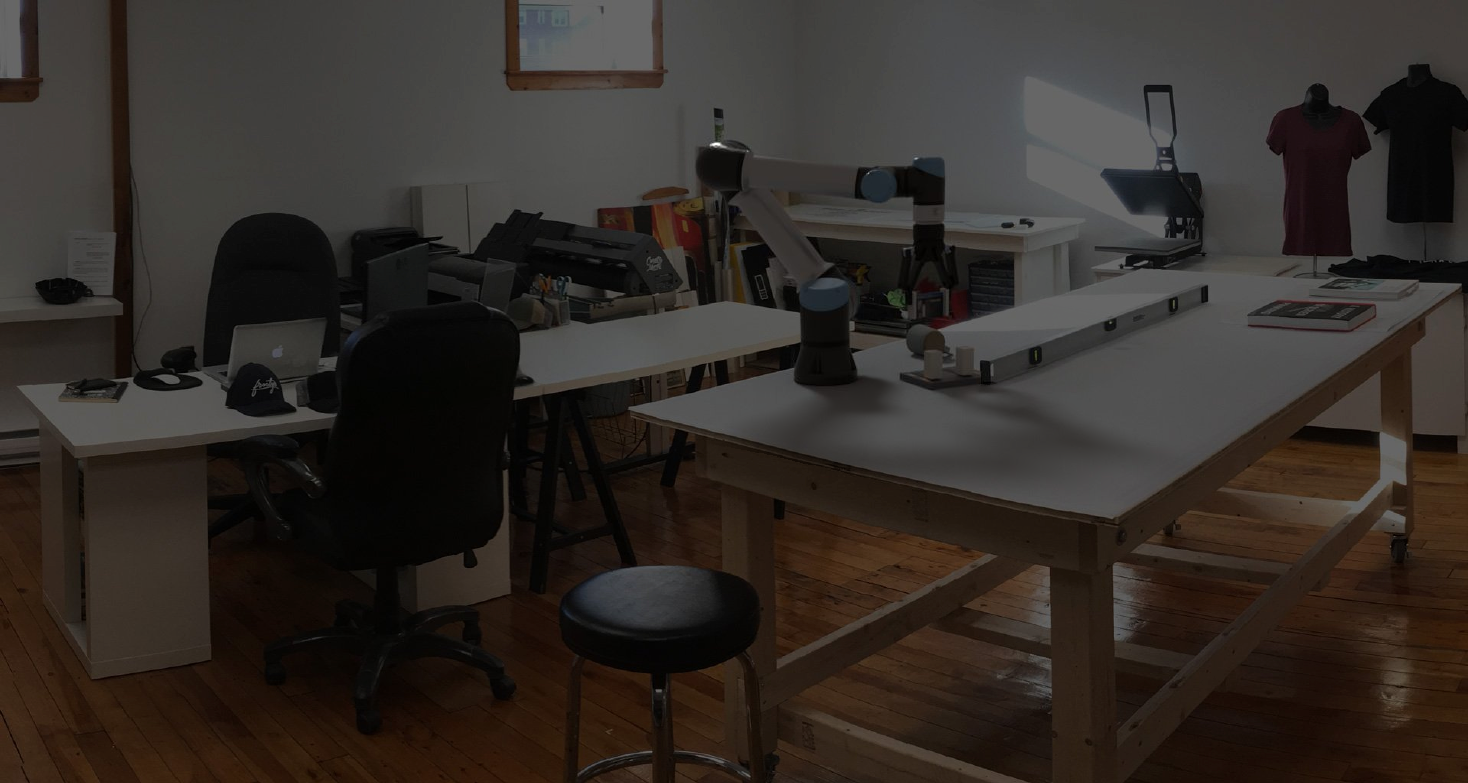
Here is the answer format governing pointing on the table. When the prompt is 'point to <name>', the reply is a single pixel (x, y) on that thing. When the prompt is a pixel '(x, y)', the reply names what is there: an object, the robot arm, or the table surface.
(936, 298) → the mini dv tape
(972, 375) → the grey base plate
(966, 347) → the tab
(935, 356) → the cream upright block
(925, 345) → the ceramic mug
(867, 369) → the table surface
